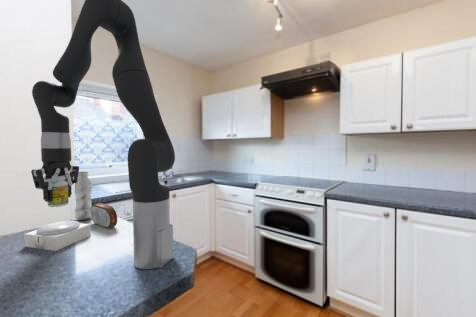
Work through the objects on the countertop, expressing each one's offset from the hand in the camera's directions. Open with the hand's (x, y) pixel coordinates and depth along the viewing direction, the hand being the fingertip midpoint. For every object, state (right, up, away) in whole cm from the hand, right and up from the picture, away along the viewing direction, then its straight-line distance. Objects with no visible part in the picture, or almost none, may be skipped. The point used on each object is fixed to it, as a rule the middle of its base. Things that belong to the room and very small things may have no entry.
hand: (58, 199), depth 74 cm
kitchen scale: (0, -14, +1) cm, 14 cm away
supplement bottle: (0, -2, 0) cm, 2 cm away
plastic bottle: (-7, -13, +22) cm, 26 cm away
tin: (+6, -13, +15) cm, 21 cm away
